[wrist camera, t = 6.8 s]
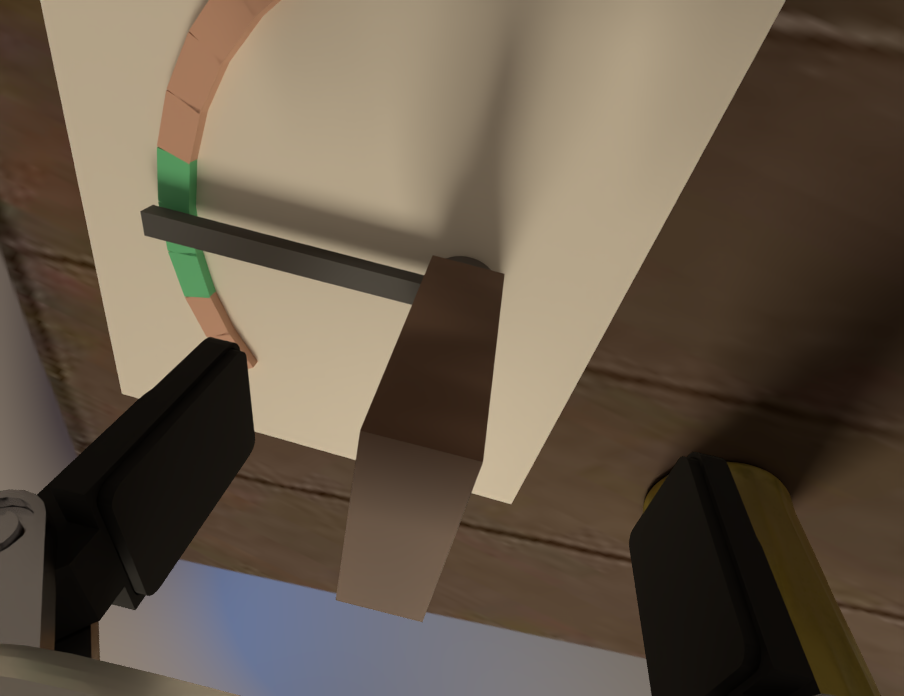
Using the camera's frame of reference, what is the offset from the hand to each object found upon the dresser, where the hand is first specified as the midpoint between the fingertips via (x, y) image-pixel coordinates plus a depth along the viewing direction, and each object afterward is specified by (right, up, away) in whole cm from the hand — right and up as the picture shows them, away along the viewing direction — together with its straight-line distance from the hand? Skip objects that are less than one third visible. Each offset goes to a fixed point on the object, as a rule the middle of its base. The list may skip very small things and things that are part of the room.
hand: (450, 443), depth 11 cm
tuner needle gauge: (-4, +5, +5) cm, 8 cm away
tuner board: (-3, +6, +7) cm, 10 cm away
